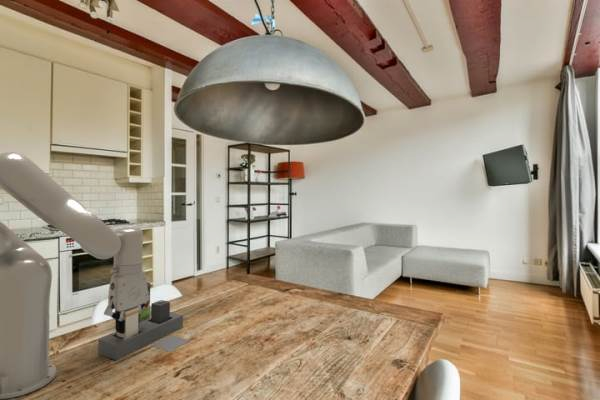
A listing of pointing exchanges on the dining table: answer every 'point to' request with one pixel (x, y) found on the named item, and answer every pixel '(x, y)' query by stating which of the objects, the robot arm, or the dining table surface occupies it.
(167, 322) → the dark grey socket base
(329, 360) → the dining table surface
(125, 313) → the plug
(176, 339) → the mat
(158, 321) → the twin plug
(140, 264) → the robot arm
